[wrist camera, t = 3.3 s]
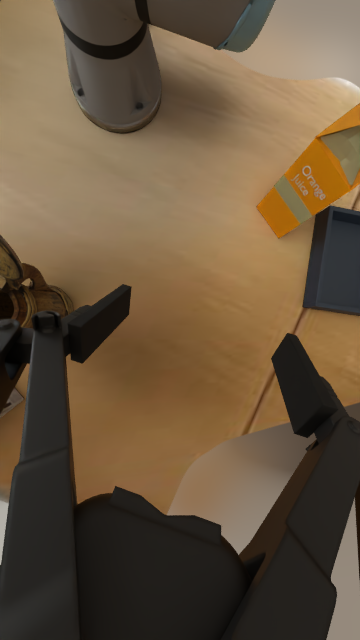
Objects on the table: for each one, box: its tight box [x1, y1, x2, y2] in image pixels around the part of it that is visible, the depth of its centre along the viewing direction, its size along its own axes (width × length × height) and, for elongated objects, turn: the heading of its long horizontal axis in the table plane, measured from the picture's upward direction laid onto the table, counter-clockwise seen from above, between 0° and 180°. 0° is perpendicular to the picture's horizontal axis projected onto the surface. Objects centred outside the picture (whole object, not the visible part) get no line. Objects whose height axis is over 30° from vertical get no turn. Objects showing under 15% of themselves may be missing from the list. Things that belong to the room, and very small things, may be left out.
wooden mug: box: [0, 235, 73, 328], centre depth 25 cm, size 9×14×18 cm, turn 148°
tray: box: [303, 205, 360, 316], centre depth 38 cm, size 19×15×3 cm
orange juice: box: [257, 103, 360, 238], centre depth 28 cm, size 8×9×20 cm
